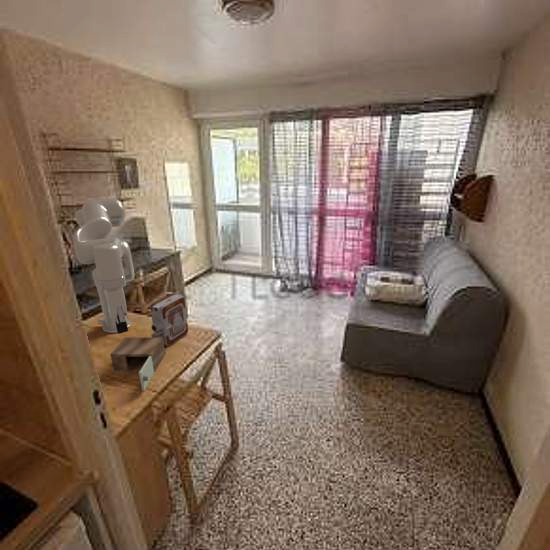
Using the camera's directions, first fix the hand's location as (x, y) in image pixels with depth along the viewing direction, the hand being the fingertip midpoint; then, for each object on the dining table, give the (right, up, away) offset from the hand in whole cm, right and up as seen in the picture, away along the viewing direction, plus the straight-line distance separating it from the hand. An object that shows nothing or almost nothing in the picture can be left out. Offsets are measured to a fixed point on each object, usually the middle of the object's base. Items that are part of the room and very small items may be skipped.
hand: (122, 331), depth 112 cm
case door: (+6, -20, +9) cm, 23 cm away
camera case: (-2, -16, +21) cm, 26 cm away
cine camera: (+4, -11, +36) cm, 37 cm away
